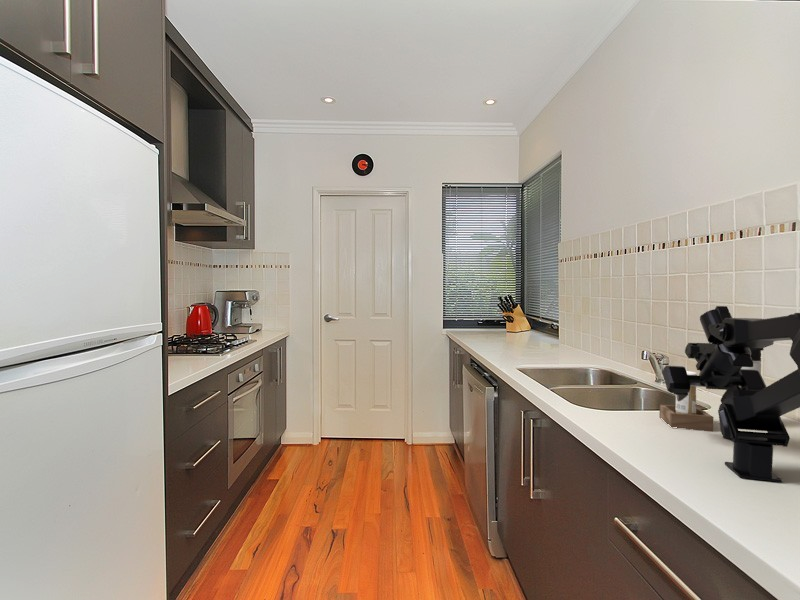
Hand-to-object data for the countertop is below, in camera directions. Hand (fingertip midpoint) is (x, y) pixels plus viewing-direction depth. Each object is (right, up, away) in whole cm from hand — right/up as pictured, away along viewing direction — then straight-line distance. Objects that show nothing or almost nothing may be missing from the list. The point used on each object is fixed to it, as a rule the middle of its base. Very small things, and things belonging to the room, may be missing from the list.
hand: (699, 400), depth 102 cm
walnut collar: (+2, -8, +8) cm, 11 cm away
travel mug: (+18, -8, +9) cm, 21 cm away
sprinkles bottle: (+2, -8, +8) cm, 11 cm away
